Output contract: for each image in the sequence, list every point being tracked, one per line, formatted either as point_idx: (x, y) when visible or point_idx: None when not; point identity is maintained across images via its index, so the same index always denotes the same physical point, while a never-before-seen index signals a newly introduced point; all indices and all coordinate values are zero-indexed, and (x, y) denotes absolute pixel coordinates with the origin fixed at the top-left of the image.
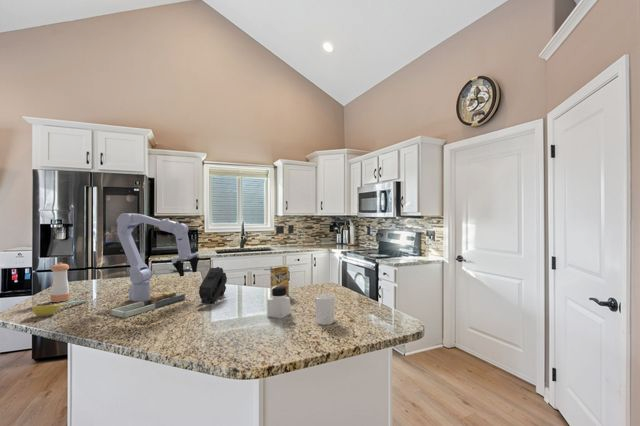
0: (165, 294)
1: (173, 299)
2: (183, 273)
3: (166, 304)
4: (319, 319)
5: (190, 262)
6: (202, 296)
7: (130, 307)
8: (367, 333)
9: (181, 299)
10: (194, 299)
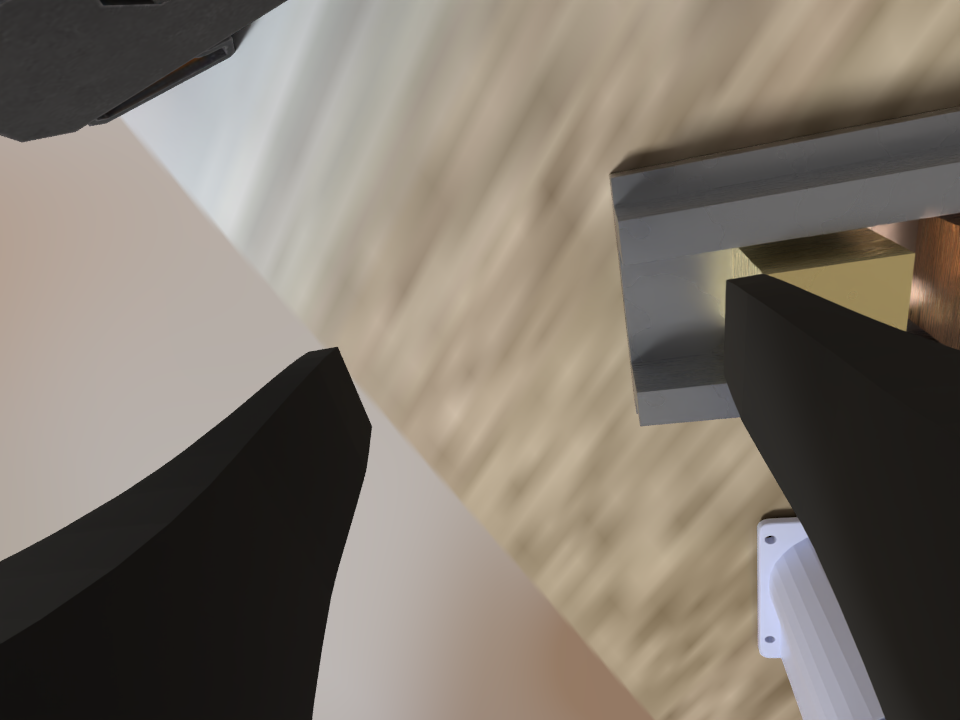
0: (904, 303)
1: (825, 177)
2: (777, 293)
3: (934, 149)
4: None
5: (299, 716)
6: None
7: None
8: None
9: (672, 197)
10: (494, 178)
